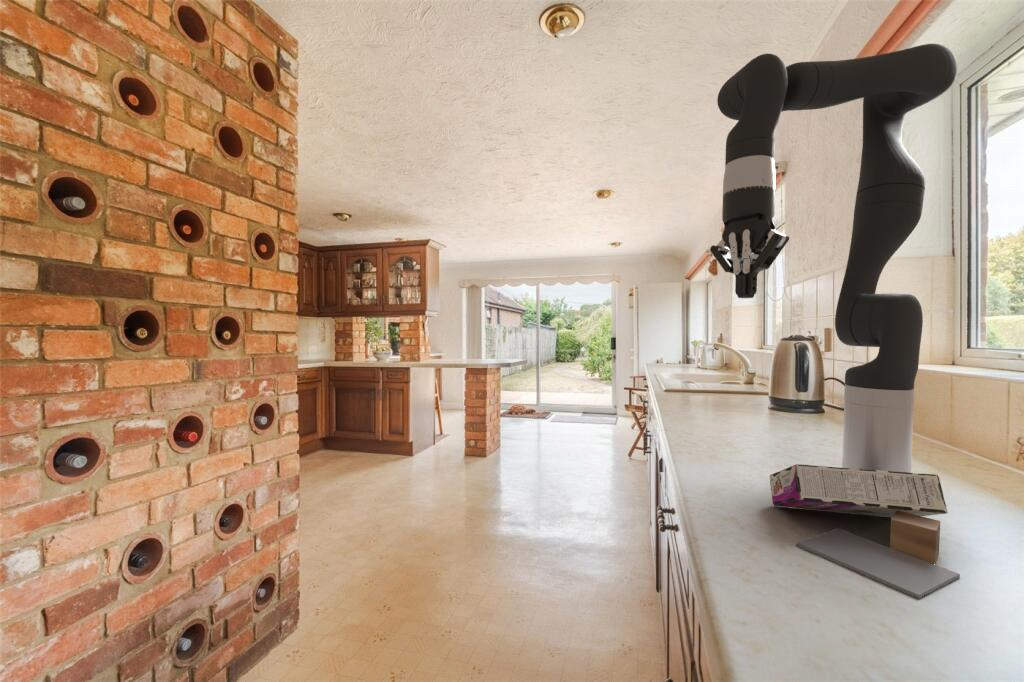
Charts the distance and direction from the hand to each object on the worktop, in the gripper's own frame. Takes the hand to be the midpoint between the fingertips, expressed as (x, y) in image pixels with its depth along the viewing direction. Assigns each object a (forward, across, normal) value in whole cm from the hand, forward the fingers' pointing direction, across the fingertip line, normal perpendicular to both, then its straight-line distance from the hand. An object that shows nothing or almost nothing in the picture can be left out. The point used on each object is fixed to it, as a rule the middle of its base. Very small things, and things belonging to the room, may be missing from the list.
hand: (745, 297), depth 73 cm
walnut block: (+32, -23, -1) cm, 39 cm away
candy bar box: (+28, -9, +4) cm, 29 cm away
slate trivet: (+32, -22, +6) cm, 39 cm away
